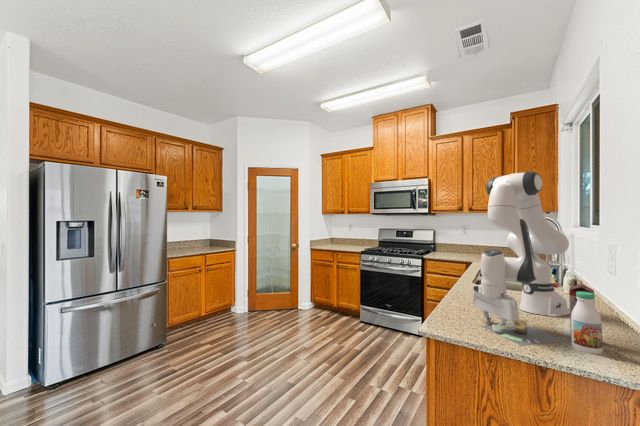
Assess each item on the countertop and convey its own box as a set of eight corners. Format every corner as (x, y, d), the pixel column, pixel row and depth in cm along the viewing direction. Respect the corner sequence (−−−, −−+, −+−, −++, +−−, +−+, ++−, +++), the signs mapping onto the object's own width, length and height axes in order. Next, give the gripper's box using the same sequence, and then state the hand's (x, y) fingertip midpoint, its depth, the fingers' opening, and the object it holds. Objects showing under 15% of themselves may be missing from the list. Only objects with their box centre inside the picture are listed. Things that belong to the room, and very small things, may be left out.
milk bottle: (565, 347, 101) (564, 290, 101) (585, 346, 101) (584, 289, 102) (588, 358, 93) (586, 296, 93) (609, 356, 94) (607, 295, 94)
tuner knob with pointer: (522, 329, 113) (522, 319, 113) (530, 334, 109) (529, 323, 109) (490, 329, 114) (490, 319, 114) (496, 333, 110) (495, 323, 110)
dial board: (519, 324, 122) (519, 321, 122) (565, 343, 104) (565, 340, 104) (480, 328, 118) (480, 325, 118) (520, 349, 100) (520, 345, 100)
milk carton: (570, 341, 106) (569, 281, 106) (571, 336, 110) (569, 278, 111) (595, 346, 101) (593, 284, 101) (595, 340, 106) (593, 281, 106)
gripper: (523, 297, 107) (524, 334, 107) (481, 284, 127) (482, 315, 127) (508, 298, 106) (509, 336, 106) (469, 285, 126) (470, 316, 126)
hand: (494, 324), depth 117 cm, fingers open, 6 cm apart
